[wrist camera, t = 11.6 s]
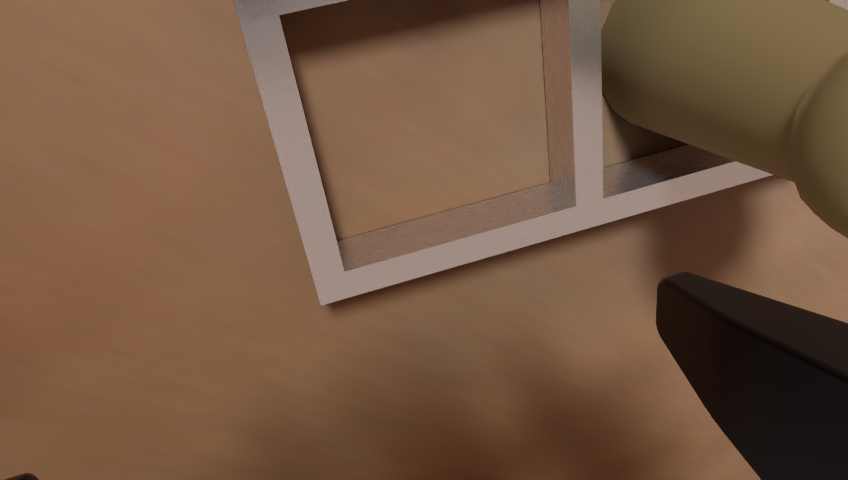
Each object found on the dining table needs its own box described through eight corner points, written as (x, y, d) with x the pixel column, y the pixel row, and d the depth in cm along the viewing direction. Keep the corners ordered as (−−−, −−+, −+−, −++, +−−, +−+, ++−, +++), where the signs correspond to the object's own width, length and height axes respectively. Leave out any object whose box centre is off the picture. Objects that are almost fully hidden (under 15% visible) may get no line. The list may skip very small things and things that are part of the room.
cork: (781, 37, 24) (1137, 149, 15) (654, 160, 25) (914, 335, 16) (704, -96, 21) (1093, -58, 12) (563, 50, 22) (819, 189, 13)
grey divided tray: (312, 273, 23) (321, 305, 22) (225, -29, 18) (228, -18, 17) (787, 140, 27) (826, 159, 25) (828, -152, 21) (882, -153, 20)
